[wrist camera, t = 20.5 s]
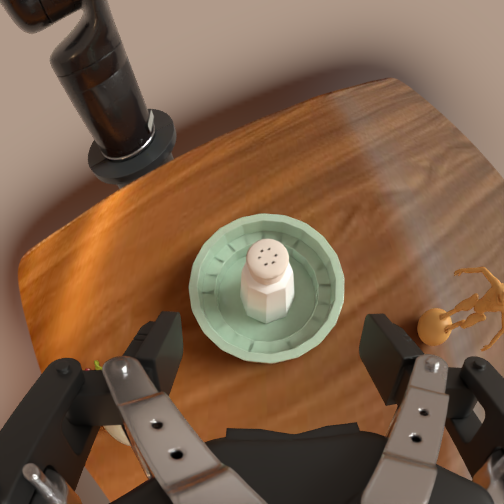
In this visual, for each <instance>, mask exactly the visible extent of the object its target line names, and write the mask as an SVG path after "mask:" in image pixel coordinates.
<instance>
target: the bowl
mask: <svg viewBox="0 0 504 504" xmlns="http://www.w3.org/2000/svg"><path fill="white" fill-rule="evenodd" d="M262 239H274V240H276V241H279V242H280V243H281V244H283V245H284V247H285V248H286V249H287V252H288V255H289V263H290V265H291V268H292V270H293V277H294V300H293V302H292V305H291V307H290V309H289V311H288V314H287V316H286V317H284V318H281V319H279V320H276V321H273V322H271V323H268V324H265V323H263V322H260V321H258V320H256V319H254V318H251V317H249V316H247V314H246V312H245V309H244V306H243V303H242V301H241V298H240V288H241V273H242V269H243V267H244V265H245V263H246V255H247V252H248V250H249V248H250V247H251V245H252V244H254V243H255V242H257V241H259V240H262ZM189 295H190V302H191V308H192V312H193V314H194V316H195V318H196V320H197V322H198V324H199V326H200V327H201V329H202V331H203V333H204V334H205V335H206V336H207V337H208V338H209V339H210V340H211V341H213V342H214V343H215V344H216V345H217V346H218V347H219V348H220V349H221V350H223V351H225V352H227V353H229V354H231V355H233V356H236V357H238V358H240V359H242V360H244V361H247V362H253V363H263V364H274V363H279V362H283V361H287V360H292V359H295V358H297V357H299V356H301V355H303V354H304V353H306V352H307V351H309V350H311V349H312V348H314V347H315V346H317V345H319V344H320V343H321V342H322V340H323V339H324V338H325V337H326V336H327V334H328V333H329V332H330V331H331V329H332V328H333V327H334V326H335V324H336V322H337V319H338V316H339V313H340V311H341V308H342V305H343V301H344V275H343V272H342V268H341V265H340V262H339V259H338V256H337V254H336V253H335V252H334V250H333V249H332V247H331V246H330V245H329V243H328V242H327V240H326V239H325V238H324V237H323V236H322V235H321V234H320V233H318V232H317V231H316V230H314V229H313V228H312V227H310V226H309V225H308V224H306V223H304V222H302V221H299V220H296V219H294V218H291V217H288V216H286V215H285V216H284V215H276V214H257V215H252V216H247V217H242V218H239V219H237V220H235V221H233V222H231V223H229V224H227V225H225V226H224V227H222V228H220V229H219V230H218V231H217V232H215V233H214V234H213V235H212V236H211V237H210V238H209V239H208V240H207V241H206V242H205V243H204V245H203V246H202V248H201V250H200V252H199V253H198V255H197V257H196V259H195V261H194V263H193V265H192V271H191V276H190V282H189Z"/></svg>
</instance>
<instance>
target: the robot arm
mask: <svg viewBox="0 0 504 504" xmlns="http://www.w3.org/2000/svg"><path fill="white" fill-rule="evenodd" d="M0 3H1V4H2V6H3V7H4V9H5V10H6V12H7V13H8V15H9V16H10V17H11V19H12V20H13V21H14V23H15V24H16V25H17V26H18V27H19V28H20V29H21V30H23V31H24V32H26V33H29V34H33V33H37V32H40V31H42V30H44V29H46V28H47V27H49V26H51V25H53V24H54V23H56V22H58V21H59V20H61V19H63V18H65V17H66V16H68V15H70V14H72V13H74V12H76V11H77V10H80V9H82V10H83V15H82V18H81V19H80V21H79V22H78V24H77V25H76V27H75V28H74V29H73V30H72V31H71V32H70V34H69V35H68V36H67V37H66V38H65V39H64V40H63V41H62V42H61V43H60V44H59V45H58V46H57V47H56V48H55V49H54V51H53V52H52V54H51V57H50V64H51V66H52V68H53V70H54V72H55V74H56V75H57V77H58V79H59V81H60V83H61V85H62V86H63V88H64V89H65V91H66V93H67V95H68V97H69V98H70V100H71V102H72V103H73V105H74V107H75V108H76V110H77V112H78V114H79V115H80V117H81V118H82V120H83V122H84V124H85V125H86V127H87V128H88V130H89V132H90V133H91V135H92V137H93V138H94V140H95V142H96V143H97V145H98V146H99V148H100V149H101V152H102V154H103V155H104V157H105V158H106V159H107V160H108V161H111V162H124V161H127V160H130V159H133V158H135V157H136V156H138V155H140V154H141V153H142V152H144V151H145V150H146V149H147V148H148V147H149V146H150V145H151V143H152V142H153V140H154V138H155V135H156V128H155V125H154V123H153V118H154V116H153V113H152V110H151V113H150V114H149V112H148V109H147V107H146V104H145V101H144V99H143V96H142V94H141V91H140V89H139V86H138V83H137V81H136V78H135V76H134V73H133V70H132V68H131V65H130V62H129V60H128V57H127V55H126V52H125V49H124V46H123V44H122V41H121V38H120V35H119V33H118V30H117V27H116V25H115V22H114V19H113V17H112V14H111V11H110V8H109V4H108V1H107V0H0ZM359 354H360V358H361V360H362V362H363V363H364V365H365V367H366V369H367V371H368V373H369V374H370V376H371V378H372V380H373V382H374V384H375V386H376V388H377V389H378V391H379V393H380V395H381V397H382V399H383V401H384V403H385V405H386V406H387V405H393V404H397V405H398V407H397V409H396V412H395V414H394V417H393V419H392V421H391V424H390V426H389V429H388V431H387V433H386V435H385V436H382V435H379V434H376V433H372V432H366V431H360V430H359V427H358V425H357V422H356V423H348V424H340V425H331V426H325V427H321V428H318V429H314V430H311V431H307V432H303V433H300V434H287V433H281V432H274V431H268V430H263V429H235V428H227V431H226V437H224V438H218V439H214V440H210V441H207V442H205V443H204V442H203V441H202V440H201V438H200V437H199V436H198V435H197V433H196V432H195V431H194V430H193V428H192V427H191V426H190V425H189V423H188V422H187V421H186V419H185V418H184V417H183V416H182V414H181V413H180V412H179V410H178V409H177V407H176V406H175V405H174V403H173V402H172V401H171V399H170V398H169V394H170V391H171V388H172V385H173V382H174V379H175V376H176V373H177V371H178V368H179V365H180V362H181V359H182V355H183V338H182V327H181V316H180V313H179V312H169V311H162V312H161V313H160V315H159V316H158V318H157V320H156V321H155V322H153V321H149V322H148V323H146V324H145V325H143V326H142V327H141V328H140V330H139V331H138V333H137V335H136V336H135V337H134V340H132V342H131V343H130V345H129V346H128V348H127V350H126V351H125V353H124V354H123V356H119V357H114V358H112V359H110V360H108V361H107V362H105V364H104V365H103V367H102V370H82V368H81V364H80V363H79V362H78V361H77V360H75V359H72V358H62V359H58V360H55V361H54V362H52V363H51V364H50V365H49V366H48V367H47V368H46V369H45V371H44V372H43V373H42V374H41V376H40V377H39V378H38V380H37V381H36V383H35V384H34V385H33V386H32V387H31V389H30V390H29V392H28V393H27V394H26V395H25V397H24V398H23V400H22V401H21V402H20V404H19V405H18V406H17V408H16V409H15V411H14V412H13V414H12V415H11V416H10V418H9V419H8V421H7V422H6V423H5V425H4V427H3V428H2V429H1V431H0V504H82V502H81V500H80V498H79V496H78V495H77V494H76V493H75V489H76V487H77V484H78V481H79V478H80V476H81V473H82V470H83V468H84V466H85V463H86V460H87V458H88V455H89V453H90V450H91V448H92V445H93V443H94V441H95V438H96V436H97V433H98V431H99V429H100V426H111V425H121V427H122V429H123V431H124V433H125V435H126V437H127V439H128V441H129V443H130V445H131V447H132V449H133V451H134V453H135V455H136V457H137V459H138V461H139V463H140V465H141V467H142V469H143V471H144V472H145V474H146V476H147V478H148V480H147V481H145V482H144V483H142V484H141V485H139V486H138V487H136V488H134V489H133V490H131V491H130V492H128V493H126V494H125V495H123V496H121V497H120V498H118V499H116V500H115V501H113V502H111V503H109V504H504V378H503V377H502V376H501V375H500V374H499V373H498V372H497V370H496V369H495V368H494V367H493V366H492V365H491V364H490V363H489V362H488V361H486V360H485V359H483V358H480V357H468V358H467V359H466V360H465V361H464V364H463V366H462V368H450V367H448V365H447V363H446V362H445V361H444V360H443V359H442V358H440V357H438V356H435V355H431V354H424V353H423V352H422V351H421V349H420V348H419V347H418V346H417V345H416V344H415V342H414V341H412V339H411V338H410V337H409V336H408V334H407V333H406V332H405V331H404V330H403V329H402V328H401V327H399V326H397V325H396V324H394V323H393V324H392V322H391V321H390V320H389V319H388V318H387V317H386V315H385V314H368V315H367V316H366V318H365V322H364V327H363V331H362V336H361V340H360V345H359ZM477 401H479V403H480V404H481V405H482V407H483V408H484V410H485V420H484V422H483V423H481V422H480V420H479V419H478V417H477V416H476V414H475V413H474V411H473V408H474V407H475V405H476V403H477ZM444 426H445V427H446V429H447V431H448V433H449V434H450V436H451V438H452V440H453V442H454V444H455V445H456V447H457V449H458V451H459V453H460V455H461V457H462V459H463V461H464V463H465V465H466V467H467V469H468V471H469V473H470V475H471V477H472V481H470V480H468V479H466V478H464V477H462V476H459V475H457V474H455V473H453V472H451V471H449V470H447V469H445V468H443V467H441V466H439V465H437V464H436V462H437V458H438V454H439V450H440V445H441V441H442V436H443V431H444Z"/></svg>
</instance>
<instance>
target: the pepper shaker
mask: <svg viewBox="0 0 504 504" xmlns="http://www.w3.org/2000/svg"><path fill="white" fill-rule="evenodd" d="M240 298H241V301H242V303H243V306H244V309H245V312H246V314H247V316H249V317H251V318H254V319H256V320H258V321H260V322H263V323H265V324H268V323H271V322H273V321H276V320H279V319H281V318H284V317H286V316H287V314H288V311H289V309H290V307H291V305H292V302H293V300H294V277H293V270H292V268H291V265H290V263H289V255H288V252H287V249H286V248H285V247H284V245H283V244H281V243H280V242H279V241H276V240H274V239H262V240H259V241H257V242H255V243H254V244H252V245H251V247H250V248H249V250H248V252H247V255H246V263H245V265H244V267H243V269H242V273H241V288H240Z"/></svg>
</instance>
